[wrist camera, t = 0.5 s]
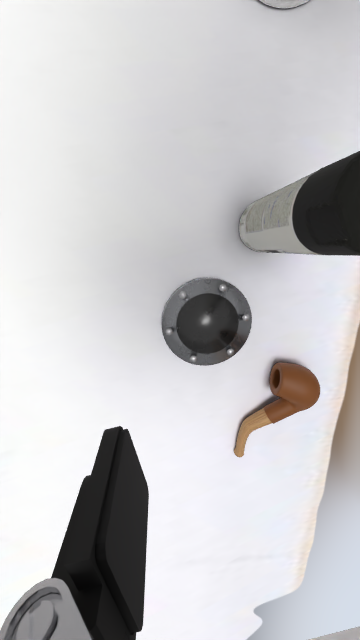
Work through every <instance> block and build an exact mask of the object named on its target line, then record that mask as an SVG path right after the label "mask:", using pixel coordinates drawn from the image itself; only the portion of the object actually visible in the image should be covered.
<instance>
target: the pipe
mask: <svg viewBox="0 0 360 640" xmlns="http://www.w3.org/2000/svg"><path fill="white" fill-rule="evenodd" d="M270 389H271V391H272V393H273V394H274V395H276V396H279V397H281V398H279V399H278V400H276V401H274V402H272V403H270V404H268V405H266V406H264V408H263V409H261V410H259V411H257V412H255V413H254V414H252V415H250V416H249V417H247V418H246V419H245V420H244V421H243V423H242V425H241V427H240V430H239V433H238V437H237V442H236V448H235V449H234V453H235V455H236V456H237V457H242V456H243V455H244V448H245V444H246V440H247V438H248V436H249V434H250V433H251V432H252V431H254V430H256V429H258V428H261V427H263V426H266V425H269V424H271V423H273V424H274V423H276V422H278V421H280V420H282V419H284V418H286V417H288V416H290V415H293V414H295V413H297V412H299V411H303V410H306V409H308V408H310V407H312V406H313V405H314V404H315V403H316V401H317V400H318V398H319V395H320V385H319V382H318V380H317V378H316V376H315V375H314V374H313V373H312V372H311V371H310V370H309V369H307V368H305V367H303V366H301V365H297V364H292V363H276V364H275V365H274V366H273V368H272V370H271V374H270Z"/></svg>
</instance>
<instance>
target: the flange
mask: <svg viewBox="0 0 360 640" xmlns="http://www.w3.org/2000/svg"><path fill="white" fill-rule="evenodd" d="M251 322H252V317H251V310H250V307H249V304H248V302H247V300H246V298H245V297H244V295H243V294H242V293H241V292H240V291H239V290H238V289H237V288H236V287H234V286H233V285H231V284H230V283H228V282H225V281H223V280H220V279H215V278H200V279H196V280H192V281H190V282H188V283H186V284H184V285H182V286H181V287H180V288H178V289H177V290H176V291H175V292H174V293H173V294H172V296H171V297H170V298H169V300H168V301H167V303H166V306H165V308H164V311H163V316H162V330H163V335H164V338H165V341H166V343H167V345H168V346H169V348H170V349H171V350H172V352H173V353H174V354H175V355H177V356H178V357H179V358H181V359H182V360H184V361H186V362H189V363H191V364H196V365H214V364H218V363H220V362H223V361H225V360H227V359H229V358H231V357H232V356H233V355H235V354H236V353H237V352H238V351H239V350H240V349H241V348H242V346H243V345H244V343H245V342H246V340H247V338H248V336H249V333H250V329H251Z"/></svg>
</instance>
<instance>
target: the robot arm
mask: <svg viewBox="0 0 360 640" xmlns="http://www.w3.org/2000/svg"><path fill="white" fill-rule="evenodd" d="M260 1H261V2H263V3H264V4H267V5H269V6H272V7H276V8H292V7H297V6H299V5H301V4H304V3H306V2H308V1H309V0H260ZM148 499H149V493H148V486H147V482H146V479H145V477H144V474H143V471H142V468H141V465H140V462H139V459H138V456H137V454H136V451H135V448H134V445H133V442H132V439H131V436H130V433H129V431H128V429H124V430H123V428H122V427H121V426H119V427H115V428H110V429H106V430H105V431H104V433H103V436H102V440H101V443H100V446H99V450H98V453H97V456H96V460H95V463H94V467H93V470H92V473H91V475H89V476H86V477H85V478H84V480H83V482H82V485H81V488H80V491H79V494H78V497H77V500H76V503H75V506H74V509H73V512H72V515H71V519H70V522H69V525H68V528H67V531H66V534H65V537H64V540H63V543H62V546H61V549H60V552H59V555H58V559H57V562H56V565H55V568H54V571H53V574H52V577H51V579H46V580H44V581H42V582H40V583H38V584H36V585H35V586H33V587H32V588H31V589H30V590H28V591H27V592H26V593H25V594H24V595H23V596H22V597H21V598H20V600H19V601H18V602H17V603H16V604H15V605H14V607H13V608H12V610H11V612H10V613H9V615H8V616H7V618H6V619H5V622H4V624H3V626H2V628H1V630H0V640H136V632H139V631H141V630H142V626H143V612H144V590H145V567H146V544H147V521H148ZM310 640H360V627H356V628H352V629H348V630H344V631H340V632H336V633H333V634H329V635H325V636H321V637H317V638H313V639H310Z"/></svg>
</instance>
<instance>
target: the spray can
mask: <svg viewBox="0 0 360 640" xmlns="http://www.w3.org/2000/svg"><path fill="white" fill-rule="evenodd" d="M239 233H240V237H241V240H242V241H243V242H244V244H245V245H246V246H247V247H249V248H250V249H252V250H254V251H257V252H267V253H270V252H272V253H295V254H314V255H359V256H360V151H359V152H357V153H354V154H352V155H350V156H348V157H346V158H343V159H341V160H339V161H337V162H335V163H332V164H330V165H328V166H326V167H323V168H321V169H320V170H318V171H316V172H314V173H312V174H310V175H308V176H306V177H304V178H302V179H300V180H298V181H296V182H294V183H292V184H290V185H288V186H286V187H284V188H282V189H280V190H278V191H276V192H274V193H272V194H270V195H267V196H265V197H263V198H261V199H259V200H257V201H255V202H254V203H252V204H251V205H249V206H248V207H247V208H246V210H245V211H244V213H243V214H242V216H241V218H240V223H239Z"/></svg>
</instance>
